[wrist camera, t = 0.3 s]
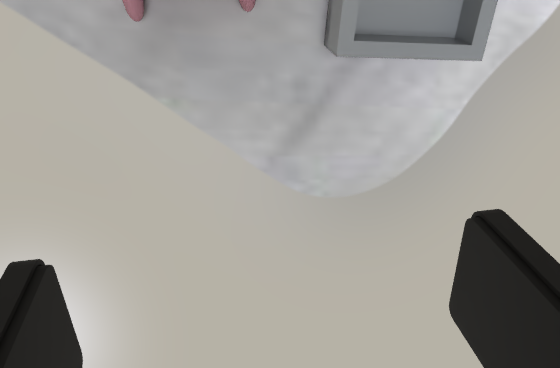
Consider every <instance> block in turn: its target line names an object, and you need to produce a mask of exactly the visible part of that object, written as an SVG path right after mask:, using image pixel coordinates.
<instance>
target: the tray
mask: <svg viewBox="0 0 560 368" xmlns="http://www.w3.org/2000/svg"><path fill="white" fill-rule="evenodd" d="M497 2H498V0H329V3H328V13H327V22H326V31H325V41H324V45H325V46H326V47H327V48H328V49H329V50H330V51H331V52H332V53H333V54H334V55H335V56H336V57H368V58H400V59H433V60H465V61H482V58H483V54H484V51H485V47H486V43H487V39H488V35H489V32H490V28H491V24H492V20H493V17H494V13H495V9H496V5H497Z"/></svg>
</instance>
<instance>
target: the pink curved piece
mask: <svg viewBox="0 0 560 368" xmlns="http://www.w3.org/2000/svg"><path fill="white" fill-rule="evenodd" d="M255 1H256V0H239V2H240V4H241V6H242V8H243V9H244V10H245V11H247V12H249V11H251V10H252V9H253V7H254V5H255ZM123 3H124V6H125V8H126V11H127V13H128V14H129V16H130V17H131V18H132V19H133V20H134V21H140V20H141V19H142V17H143V13H144V5H143V0H123Z"/></svg>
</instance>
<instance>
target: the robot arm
mask: <svg viewBox="0 0 560 368" xmlns="http://www.w3.org/2000/svg"><path fill="white" fill-rule="evenodd" d="M449 309H450V314H451V316H452V318H453V320H454V322H455V323H456V325H457V326H458V328H459V329H460V331H461V333H462V334H463V336H464V337H465V339H466V340H467V342H468V343H469V345H470V347H471V348H472V350H473V351H474V353H475V354H476V356H477V357H478V359H479V361H480V362H481V364H482V365H483V367H484V368H560V264H559V263H558V262H557V261H556V260H555V259H554V258H553V257H552V256H550V254H549V253H548V252H546V251H545V250H544V249H543V248H542V247H541V246H540V245H539V244H538V243H537V242H536V241H535V240H534V239H533V238H532V237H531V236H529V235H528V234H527V233H526V232H525V231H524V230H523V229H522V228H521V227H520V226H519V225H518V224H517V223H516V222H515V221H514V220H513V219H511V218H510V217H509V216H508V215H507V214H506V213H505V212H504V211H502V210H500V209H495V210H486V211H477V212H474V214H473V215H472V217H471V218H469V219H467V221H466V223H465V227H464V232H463V237H462V242H461V247H460V252H459V257H458V262H457V267H456V272H455V277H454V282H453V287H452V292H451V297H450V302H449ZM82 358H83V357H82V352H81V349H80V345H79V342H78V340H77V336H76V333H75V331H74V328H73V324H72V321H71V318H70V315H69V312H68V309H67V306H66V303H65V300H64V297H63V294H62V291H61V288H60V285H59V282H58V279H57V276H56V273H55V270H54V267H53V266H52V265H45V264H44V262H43V261H42V260H40V259H36V260H27V261H18V262H12V263H10V264H9V265H8V266H7V268H6V270H5V272H4V274H3V275H2V277H1V279H0V368H82V364H83V363H82V362H83V359H82Z"/></svg>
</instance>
